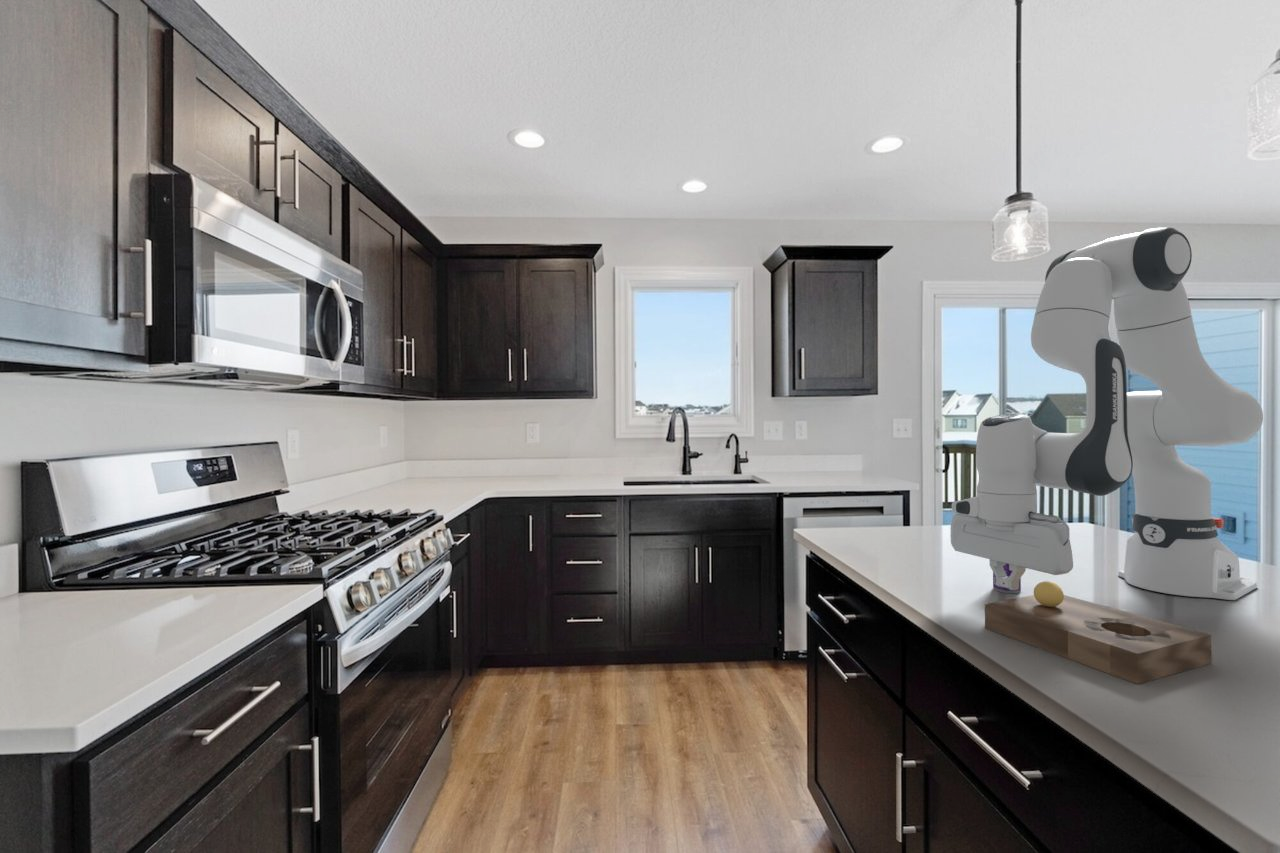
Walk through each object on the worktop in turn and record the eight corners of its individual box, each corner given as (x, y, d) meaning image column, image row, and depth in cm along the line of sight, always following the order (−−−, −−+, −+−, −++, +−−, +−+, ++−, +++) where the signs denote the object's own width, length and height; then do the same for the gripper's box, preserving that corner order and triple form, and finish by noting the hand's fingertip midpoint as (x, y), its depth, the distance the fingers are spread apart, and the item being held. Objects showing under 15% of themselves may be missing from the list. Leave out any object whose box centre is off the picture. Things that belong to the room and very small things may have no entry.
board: (1052, 614, 102) (1051, 591, 102) (1211, 663, 81) (1211, 634, 81) (985, 628, 96) (984, 604, 96) (1138, 684, 76) (1137, 653, 76)
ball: (1044, 601, 97) (1044, 577, 97) (1069, 608, 93) (1069, 583, 93) (1027, 604, 95) (1027, 580, 95) (1052, 611, 92) (1052, 586, 92)
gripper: (1082, 515, 92) (1083, 602, 92) (969, 499, 111) (970, 571, 111) (1054, 519, 90) (1055, 608, 90) (943, 502, 109) (945, 575, 109)
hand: (1007, 587), depth 101 cm, fingers closed
